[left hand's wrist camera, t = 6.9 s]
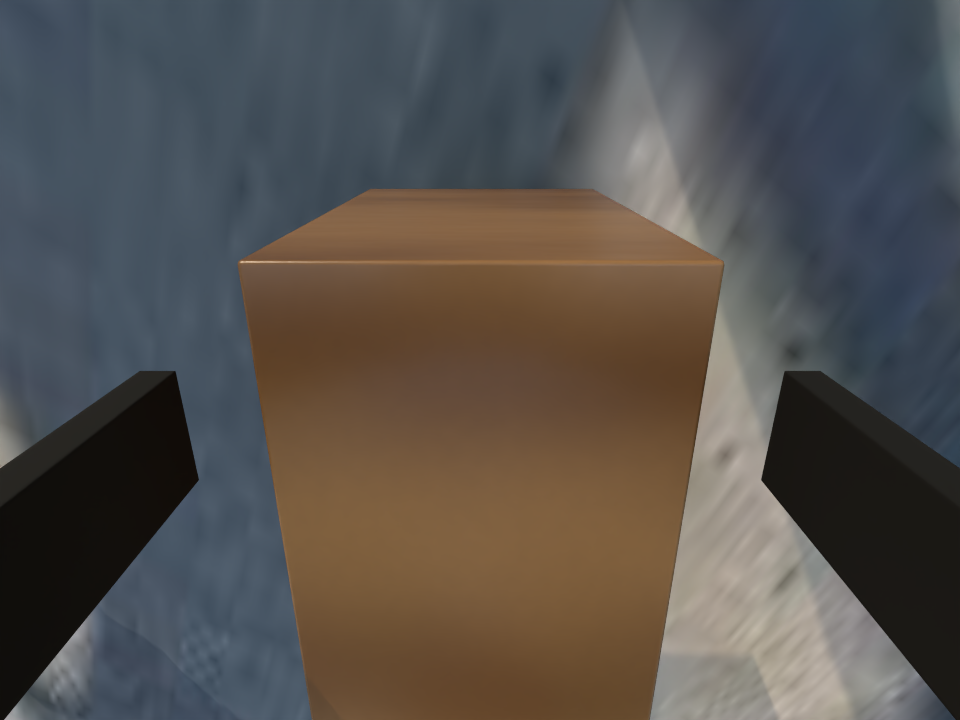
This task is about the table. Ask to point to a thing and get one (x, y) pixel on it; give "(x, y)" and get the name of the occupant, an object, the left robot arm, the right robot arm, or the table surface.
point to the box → (480, 447)
